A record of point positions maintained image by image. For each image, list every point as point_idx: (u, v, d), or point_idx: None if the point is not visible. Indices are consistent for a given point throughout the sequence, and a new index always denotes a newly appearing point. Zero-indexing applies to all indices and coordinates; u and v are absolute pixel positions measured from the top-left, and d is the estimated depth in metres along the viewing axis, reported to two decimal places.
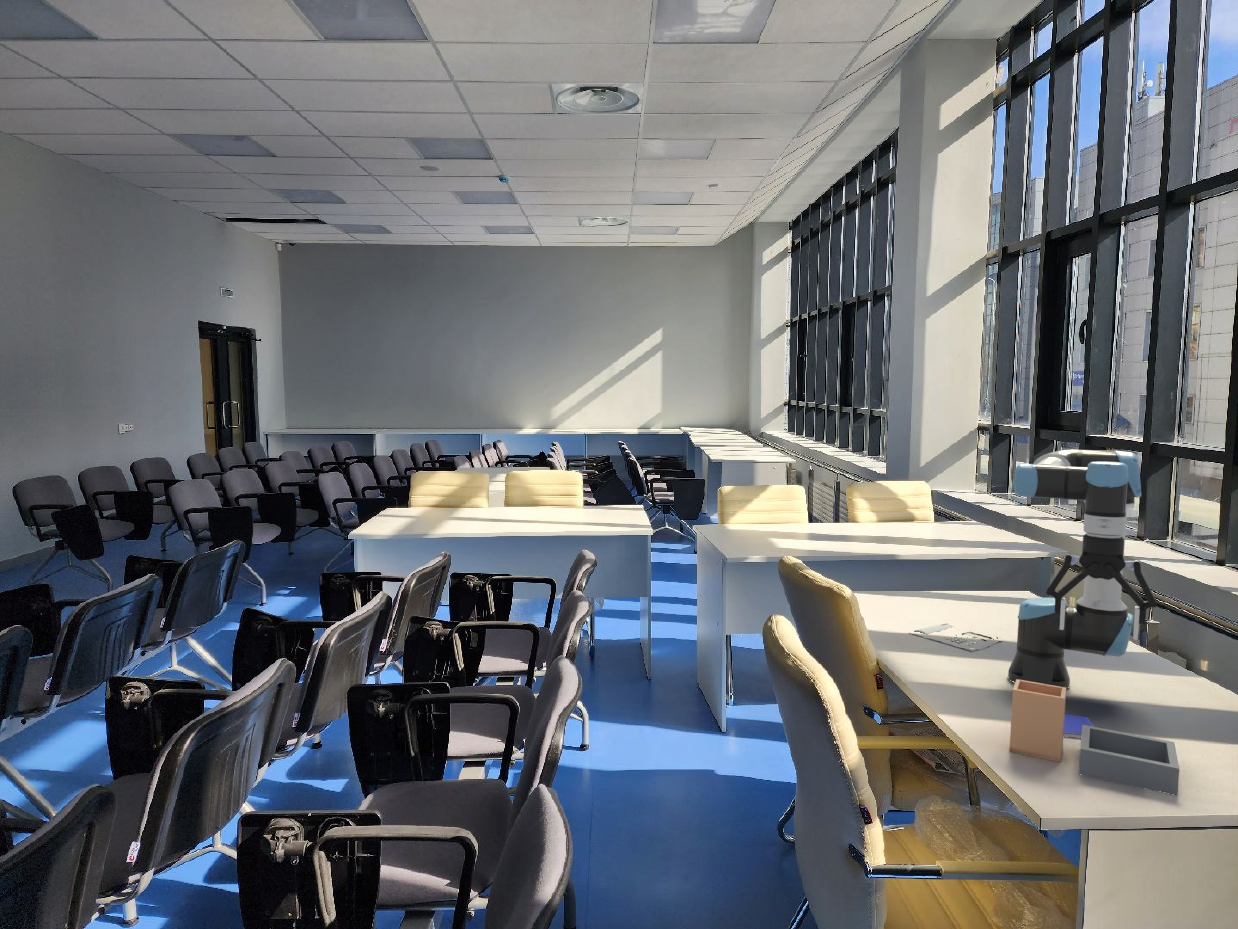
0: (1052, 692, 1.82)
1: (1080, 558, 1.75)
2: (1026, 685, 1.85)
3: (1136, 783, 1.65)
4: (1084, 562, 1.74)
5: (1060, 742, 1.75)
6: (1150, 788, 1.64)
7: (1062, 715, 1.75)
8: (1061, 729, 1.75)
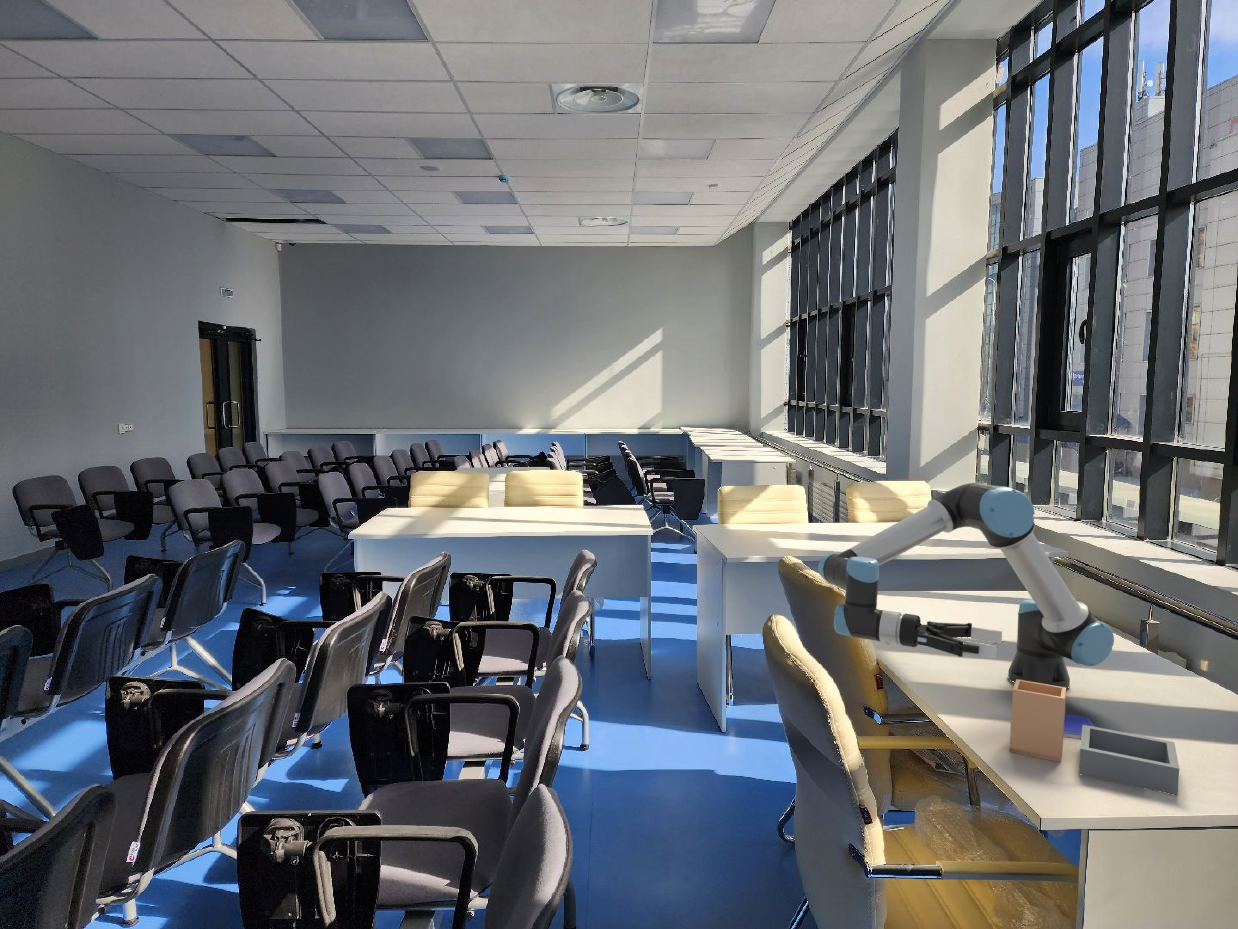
0: (1052, 692, 1.82)
1: None
2: (1026, 685, 1.85)
3: (1136, 783, 1.65)
4: None
5: (1060, 742, 1.75)
6: (1150, 788, 1.64)
7: (1062, 715, 1.75)
8: (1061, 729, 1.75)
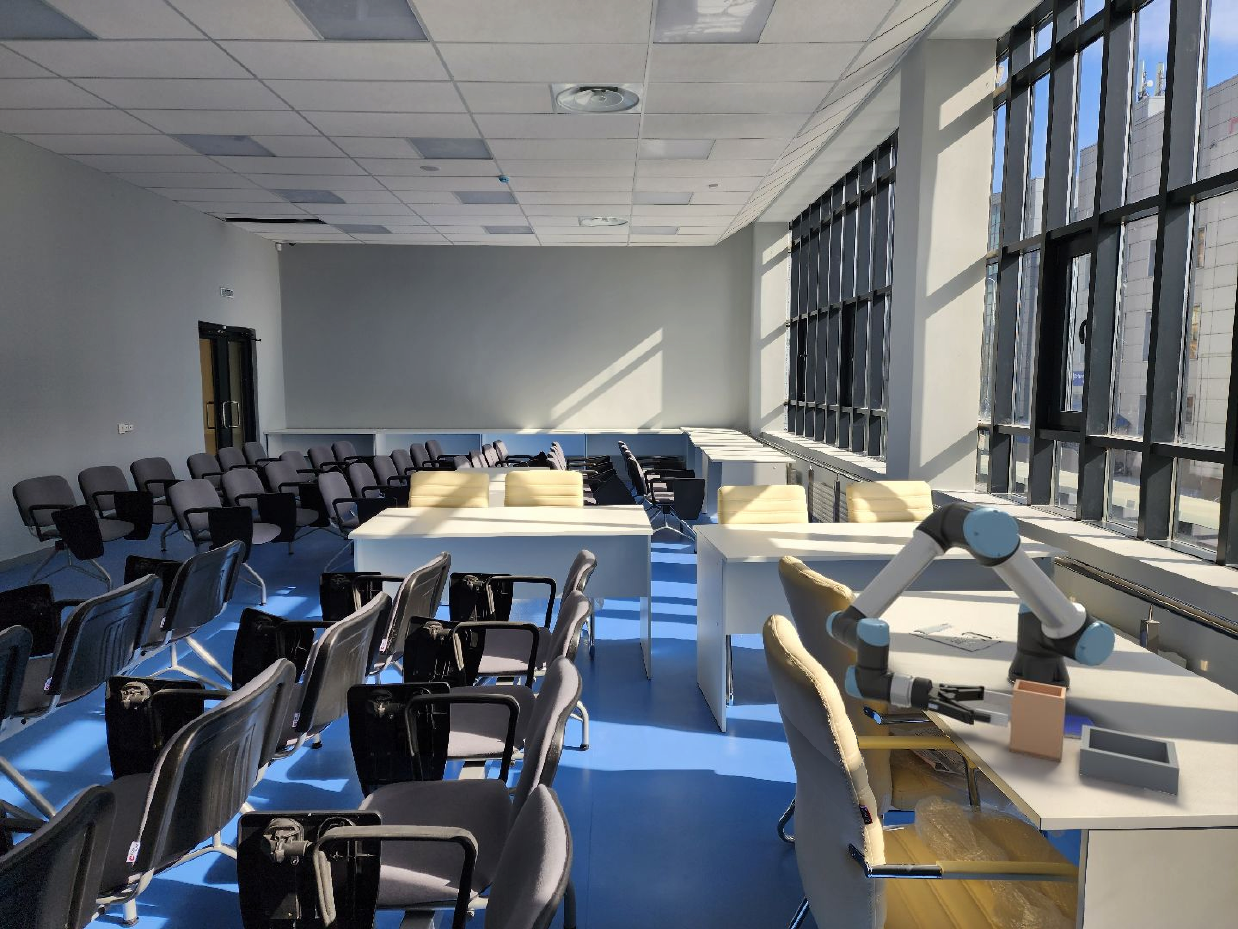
0: (1052, 692, 1.82)
1: None
2: (1026, 685, 1.85)
3: (1136, 783, 1.65)
4: None
5: (1060, 742, 1.75)
6: (1150, 788, 1.64)
7: (1062, 715, 1.75)
8: (1061, 729, 1.75)
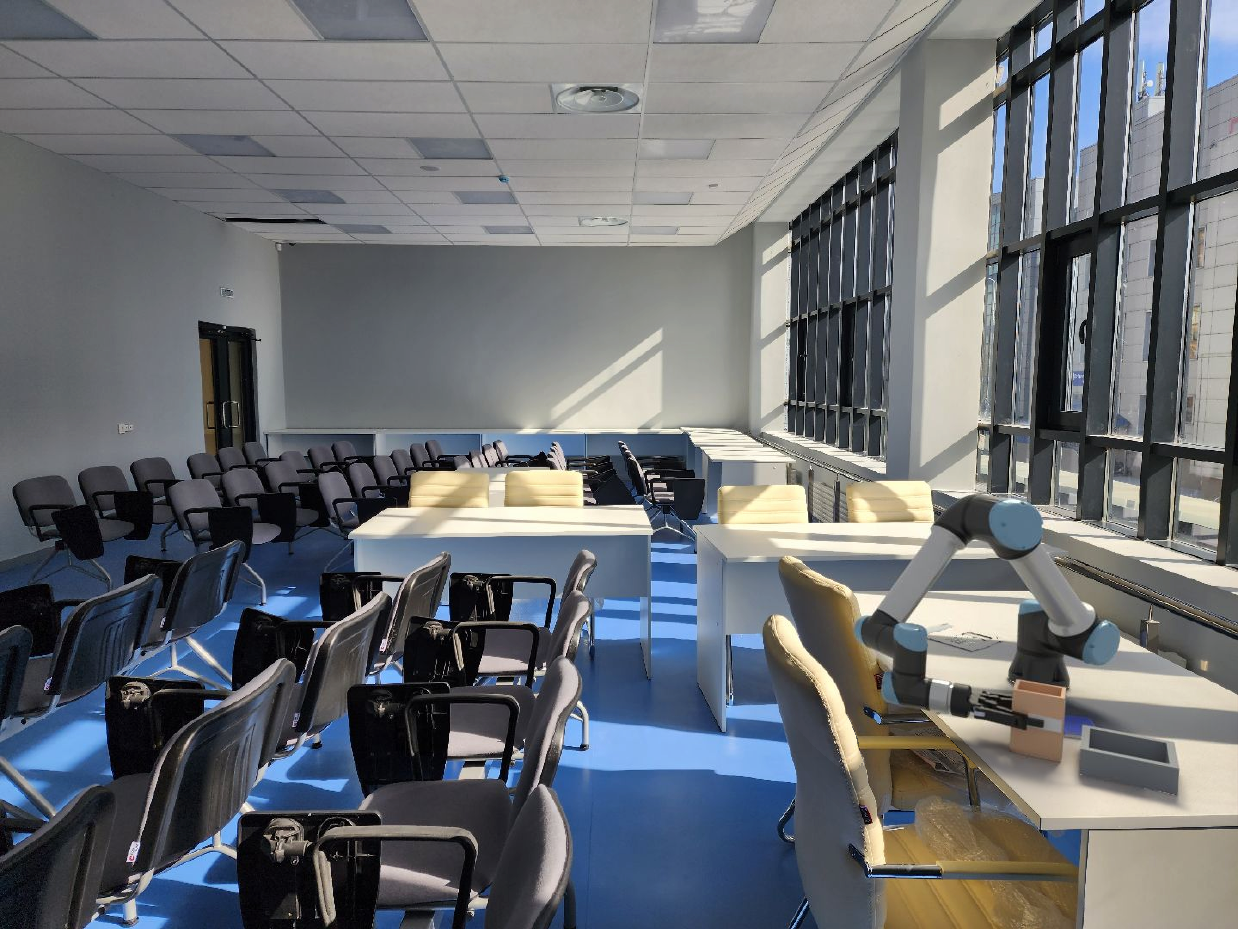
0: (1052, 692, 1.82)
1: None
2: (1026, 685, 1.85)
3: (1136, 783, 1.65)
4: None
5: (1060, 742, 1.75)
6: (1150, 788, 1.64)
7: (1062, 715, 1.75)
8: None
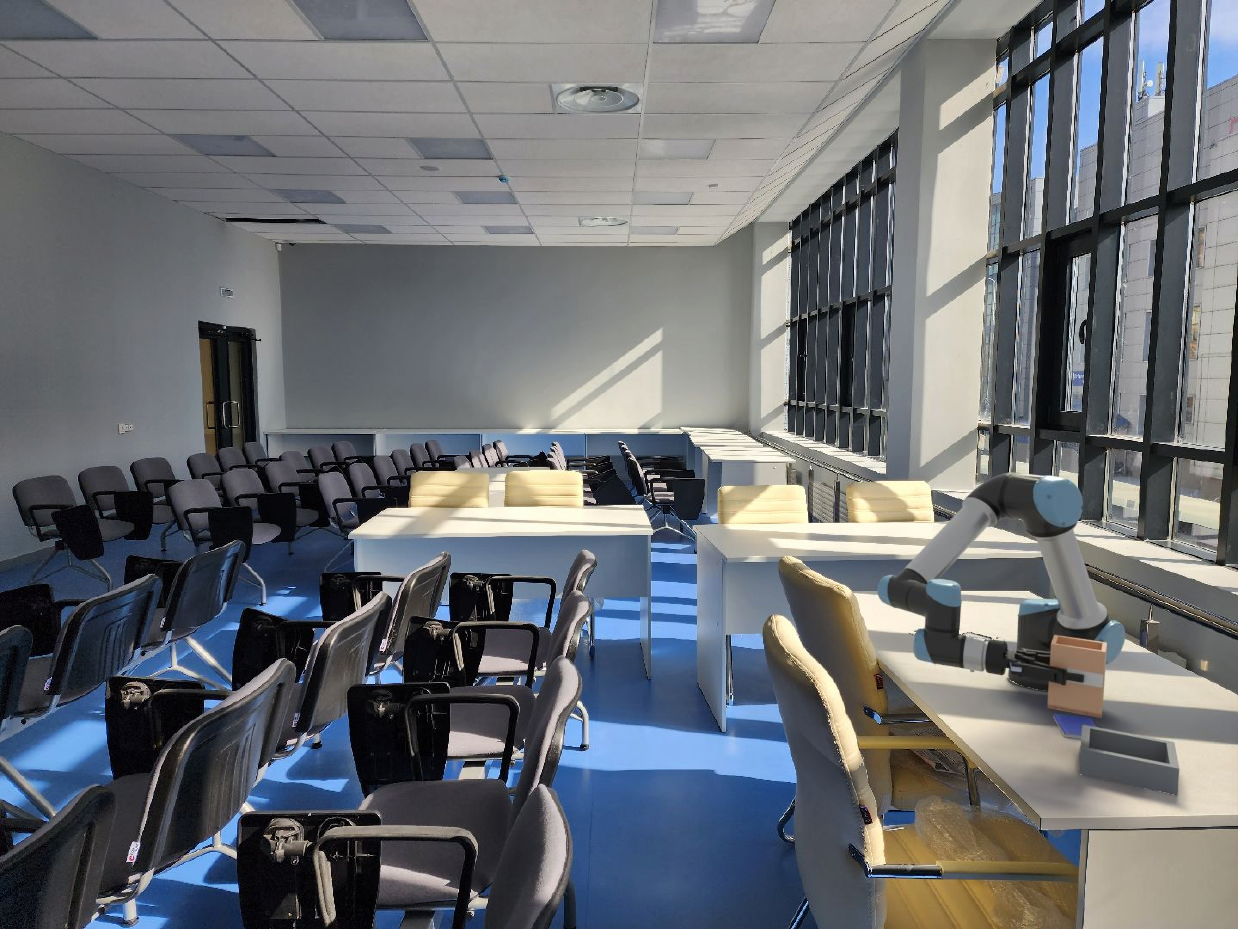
0: (1091, 647, 1.76)
1: None
2: (1064, 641, 1.79)
3: (1136, 783, 1.65)
4: None
5: (1101, 697, 1.69)
6: (1150, 788, 1.64)
7: (1103, 669, 1.69)
8: None
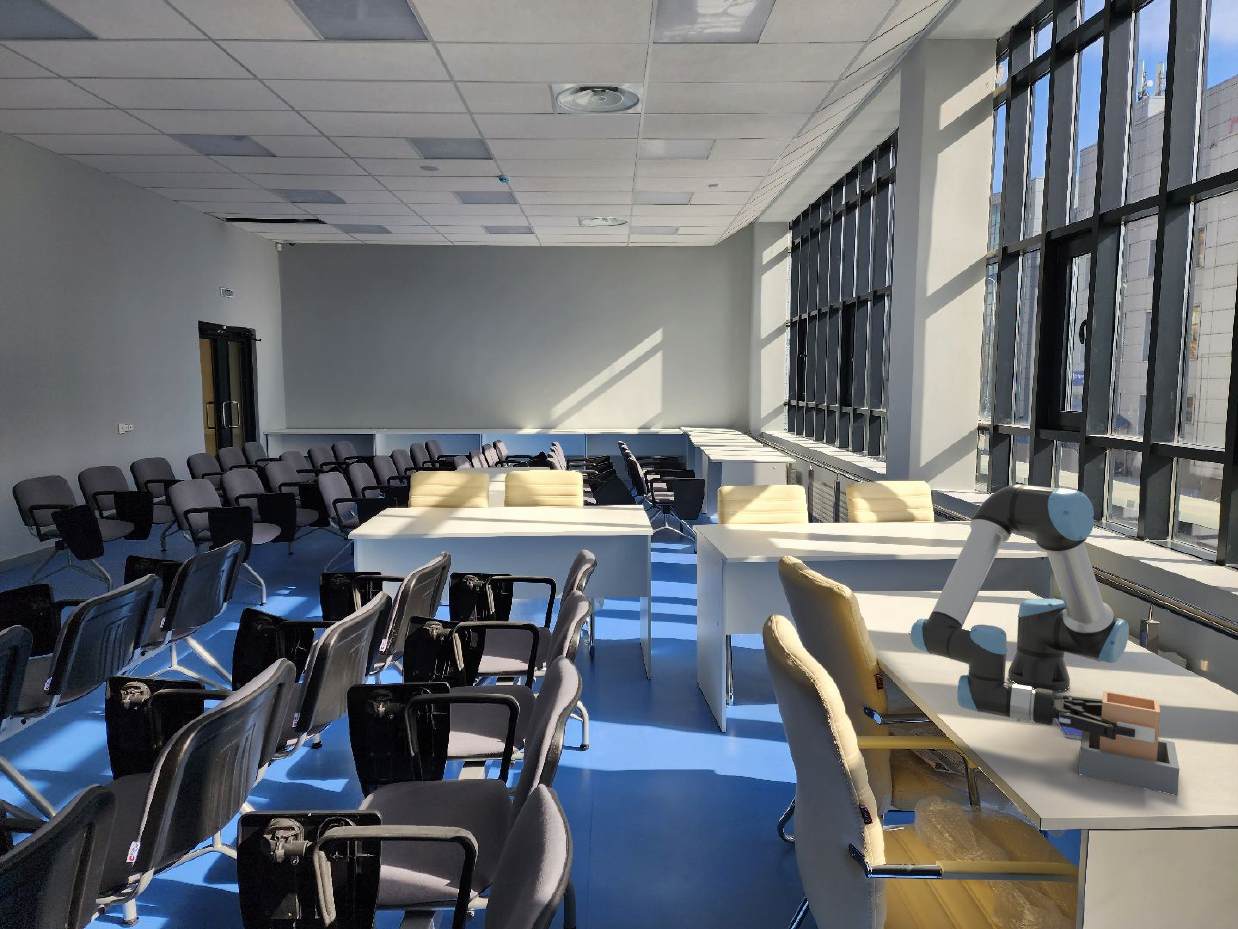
0: (1142, 705, 1.72)
1: None
2: (1114, 697, 1.75)
3: (1136, 783, 1.65)
4: None
5: (1155, 758, 1.66)
6: (1150, 788, 1.64)
7: (1157, 730, 1.65)
8: (1156, 744, 1.65)
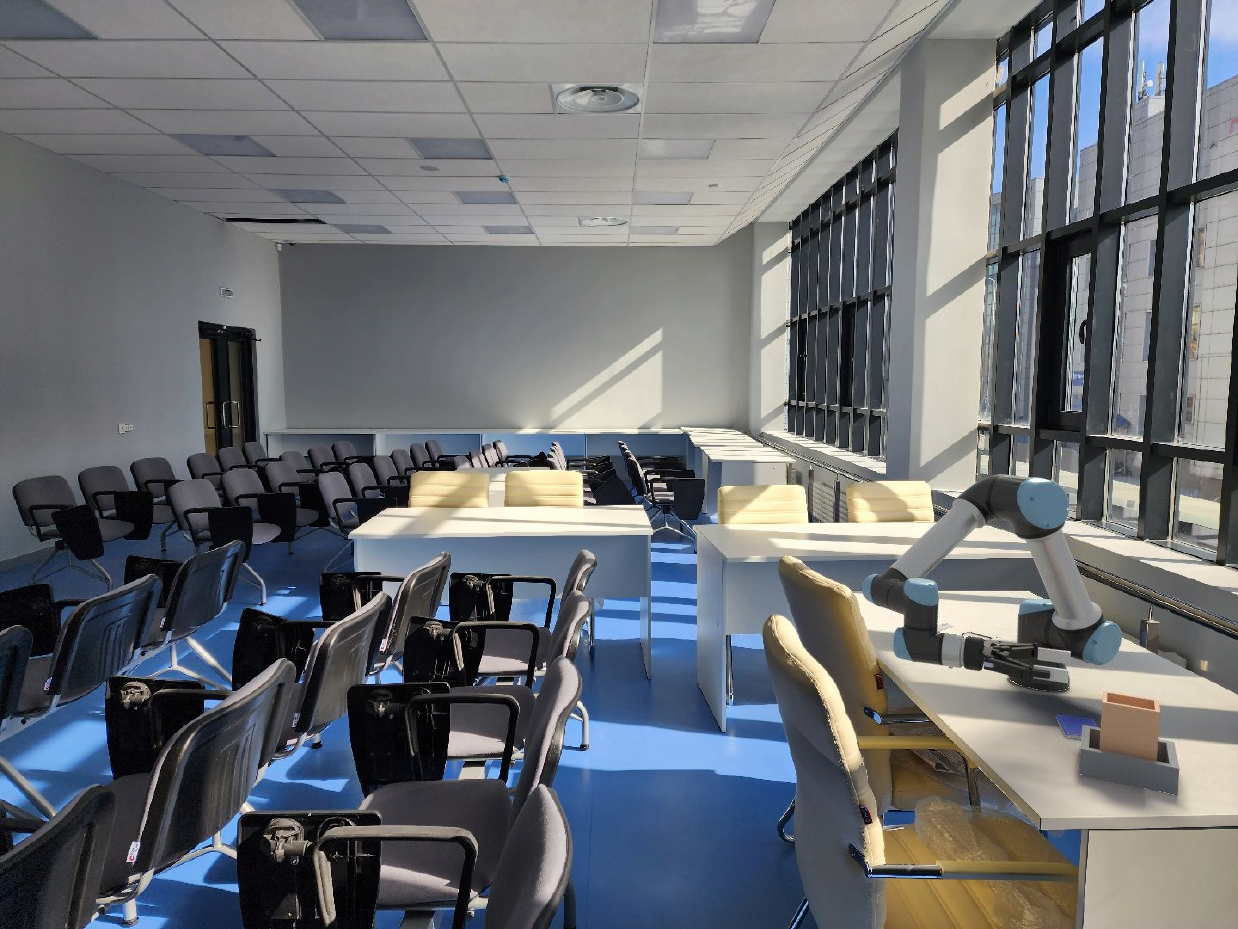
0: (1142, 705, 1.72)
1: None
2: (1114, 697, 1.75)
3: (1136, 783, 1.65)
4: None
5: (1155, 758, 1.66)
6: (1150, 788, 1.64)
7: (1157, 730, 1.65)
8: (1156, 744, 1.65)
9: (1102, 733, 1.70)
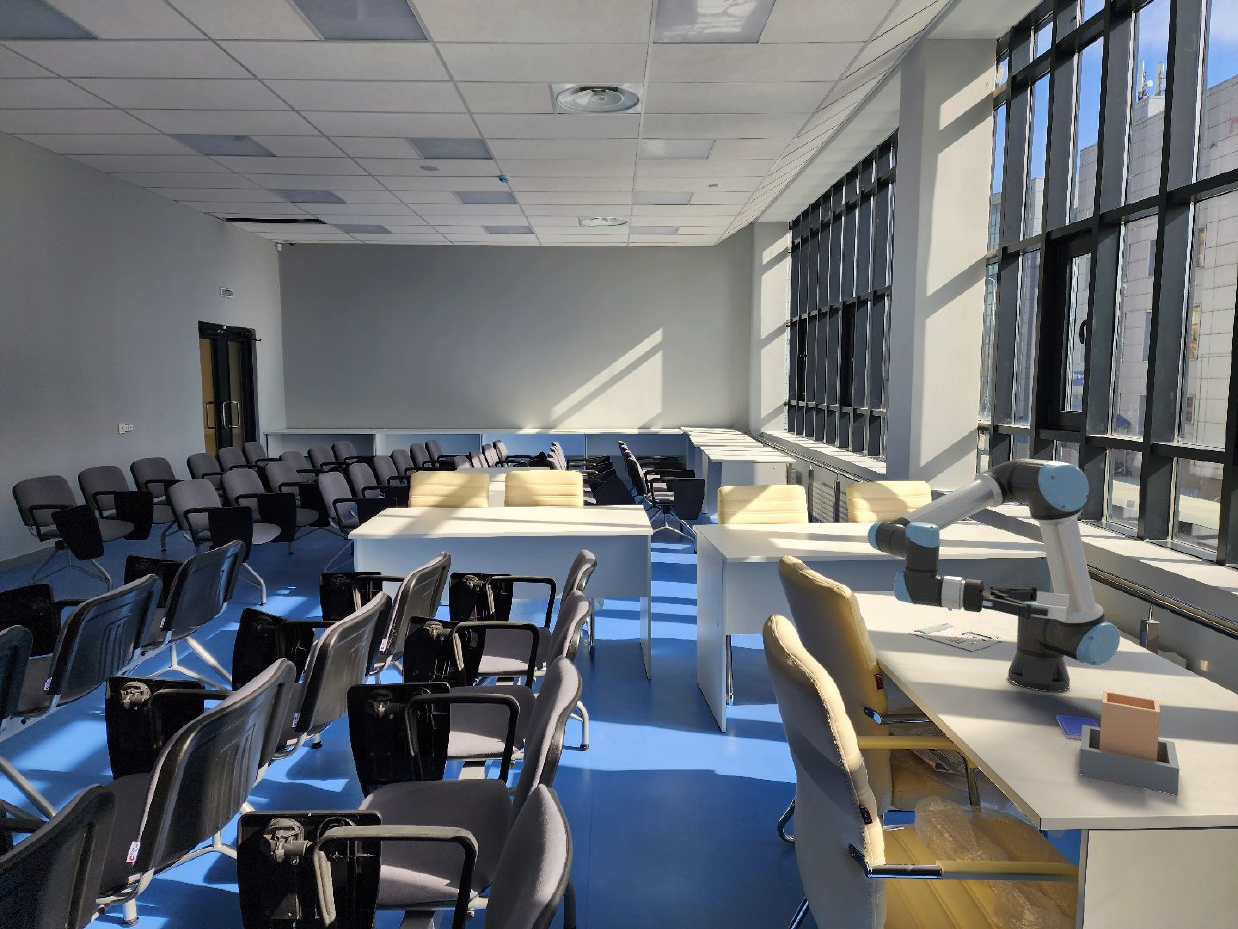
0: (1142, 705, 1.72)
1: None
2: (1114, 697, 1.75)
3: (1136, 783, 1.65)
4: None
5: (1155, 758, 1.66)
6: (1150, 788, 1.64)
7: (1157, 730, 1.65)
8: (1156, 744, 1.65)
9: (1102, 733, 1.70)
